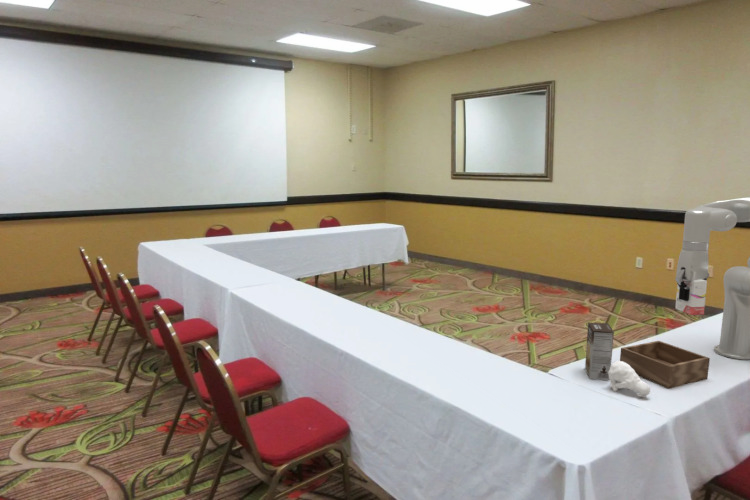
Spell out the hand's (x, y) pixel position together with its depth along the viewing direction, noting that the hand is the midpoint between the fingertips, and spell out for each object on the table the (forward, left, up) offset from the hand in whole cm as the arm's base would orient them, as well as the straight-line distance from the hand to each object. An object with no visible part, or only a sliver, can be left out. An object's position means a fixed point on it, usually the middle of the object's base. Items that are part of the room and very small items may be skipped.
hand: (690, 298), depth 181 cm
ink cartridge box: (0, 0, -5) cm, 5 cm away
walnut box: (+17, +5, -22) cm, 29 cm away
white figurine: (+39, +11, -22) cm, 47 cm away
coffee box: (+37, -3, -22) cm, 44 cm away
